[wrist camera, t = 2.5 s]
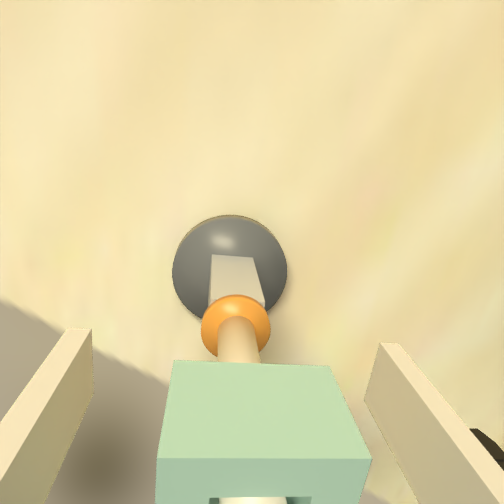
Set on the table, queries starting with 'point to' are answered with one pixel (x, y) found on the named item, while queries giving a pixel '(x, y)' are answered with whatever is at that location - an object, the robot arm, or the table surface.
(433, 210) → the table surface
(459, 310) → the table surface
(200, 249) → the post
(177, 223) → the table surface
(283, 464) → the sleeve
